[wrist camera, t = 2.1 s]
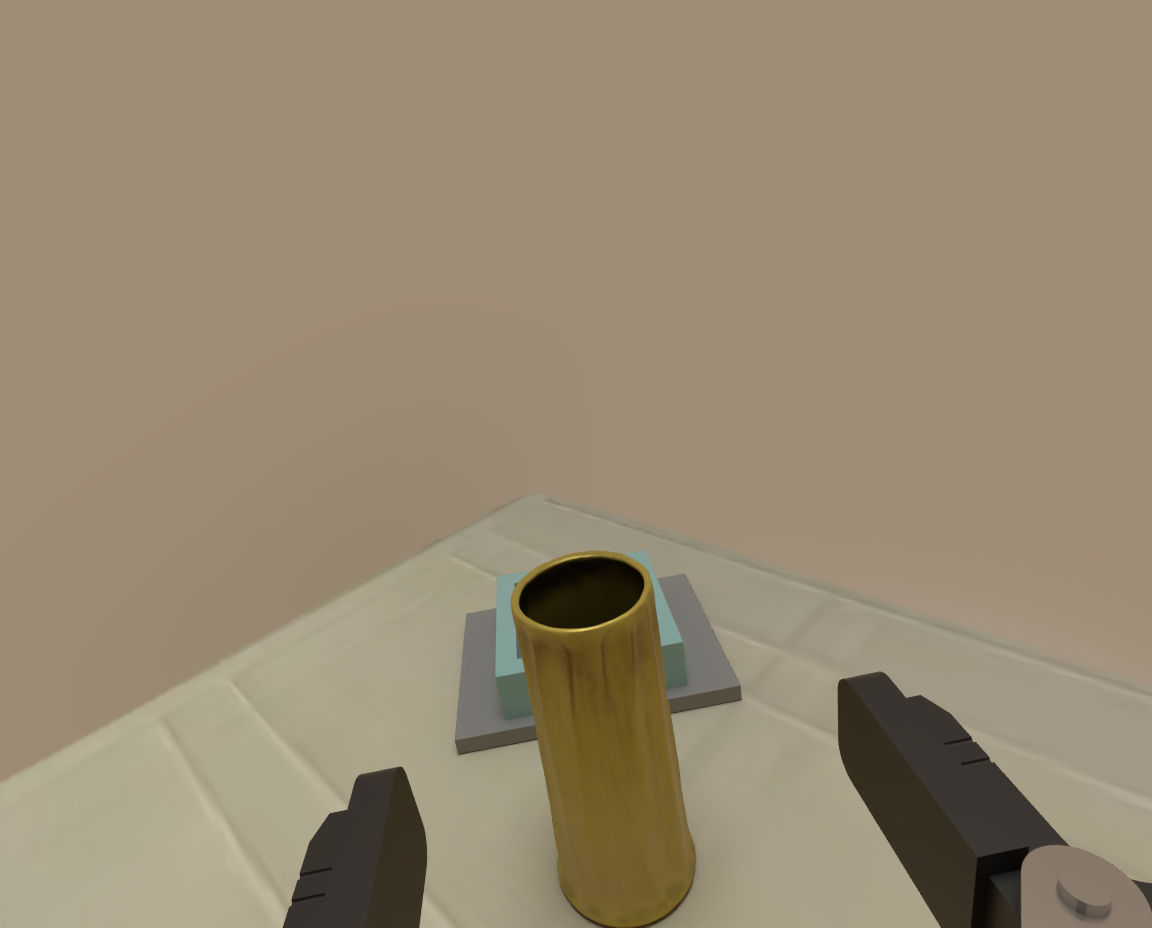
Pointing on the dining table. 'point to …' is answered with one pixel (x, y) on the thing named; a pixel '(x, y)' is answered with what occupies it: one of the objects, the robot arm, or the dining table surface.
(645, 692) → the vase
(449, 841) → the dining table surface
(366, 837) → the robot arm
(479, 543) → the dining table surface
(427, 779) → the dining table surface
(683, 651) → the dock
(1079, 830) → the dining table surface
